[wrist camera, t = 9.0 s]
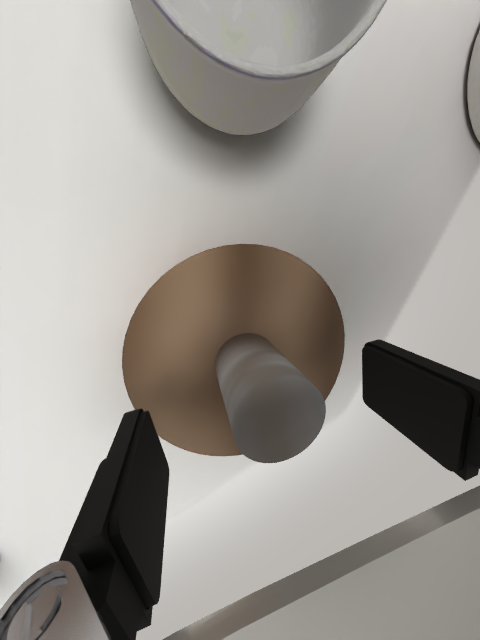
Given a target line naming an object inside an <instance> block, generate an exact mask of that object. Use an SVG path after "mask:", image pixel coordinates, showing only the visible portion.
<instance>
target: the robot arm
mask: <svg viewBox="0 0 480 640" xmlns="http://www.w3.org/2000/svg"><path fill="white" fill-rule="evenodd" d="M467 102H468V111H469V117H470V121H471V125H472V128H473V131H474V133H475V135H476V137H477V139H478V141H479V143H480V30H479V33H478V36H477V38H476V41H475V44H474V48H473V52H472V56H471V60H470V66H469V73H468V81H467ZM362 377H363V400H364V402H365V404H366V405H367V406H368V407H369V408H371V409H372V410H373V411H374V412H376V413H377V414H378V415H379V416H381V417H382V418H383V419H385V420H386V421H387V422H388V423H390V424H391V425H392V426H393V427H394V428H396V429H397V430H398V431H399V432H401V433H402V434H403V435H404V436H406V437H407V438H409V439H410V440H411V441H412V442H413V443H415V444H416V445H417V446H418V447H420V448H421V449H422V450H423V451H425V452H426V453H427V454H429V455H430V456H431V457H432V458H433V459H435V460H436V461H437V462H438V463H440V464H441V465H442V466H443V467H445V468H446V469H448V470H450V471H453V472H455V473H456V474H457V475H458V476H460V477H461V478H462V479H464V480H465V481H466V480H468V479H470V478H472V477H474V476H476V475H478V471H479V469H480V380H479V379H476V378H474V377H471V376H469V375H467V374H464V373H462V372H459V371H457V370H454V369H452V368H449V367H447V366H444V365H442V364H439V363H437V362H434V361H432V360H429V359H427V358H424V357H422V356H419V355H417V354H414V353H412V352H409V351H407V350H405V349H402V348H400V347H397V346H395V345H392V344H390V343H387V342H385V341H382V340H375V341H371V342H368V343H366V344H365V346H364V348H363V349H362ZM168 483H169V467H168V463H167V460H166V457H165V454H164V452H163V449H162V446H161V443H160V440H159V438H158V435H157V432H156V429H155V426H154V424H153V421H152V418H151V415H150V413H149V411H144V410H143V409H142V408H140V409H137V410H134V411H130V412H127V413H125V414H124V416H123V418H122V421H121V423H120V426H119V428H118V431H117V433H116V436H115V438H114V441H113V443H112V446H111V448H110V450H109V453H108V455H107V458H106V459H104V460H103V461H102V462H101V464H100V465H99V467H98V470H97V472H96V475H95V477H94V479H93V482H92V484H91V486H90V489H89V491H88V493H87V496H86V498H85V501H84V503H83V505H82V508H81V510H80V512H79V515H78V517H77V519H76V522H75V524H74V527H73V529H72V531H71V534H70V536H69V538H68V541H67V543H66V546H65V548H64V550H63V553H62V555H61V557H60V560H59V561H58V562H54V563H51V564H49V565H47V566H46V567H44V568H42V569H40V570H39V571H37V572H36V573H35V574H34V575H32V576H31V577H30V578H29V579H27V580H26V581H25V582H24V583H23V584H22V585H21V586H20V587H19V588H18V589H17V590H16V591H15V592H14V593H13V594H12V595H11V597H10V598H9V599H8V600H7V602H6V603H5V604H4V606H3V607H2V608H1V610H0V640H136V632H137V631H139V630H141V629H143V628H145V627H147V626H150V625H151V617H152V606H153V605H155V604H157V603H158V601H159V597H160V587H161V574H162V561H163V547H164V534H165V522H166V509H167V496H168ZM163 640H480V486H478V487H476V488H474V489H471V490H469V491H467V492H465V493H463V494H461V495H458V496H456V497H454V498H452V499H450V500H448V501H445V502H443V503H441V504H439V505H437V506H435V507H433V508H431V509H429V510H426V511H424V512H422V513H420V514H418V515H416V516H414V517H411V518H409V519H407V520H405V521H403V522H401V523H399V524H397V525H394V526H392V527H390V528H388V529H386V530H384V531H382V532H380V533H378V534H375V535H373V536H371V537H369V538H367V539H365V540H363V541H361V542H358V543H356V544H354V545H352V546H350V547H348V548H346V549H344V550H342V551H340V552H337V553H335V554H333V555H331V556H329V557H327V558H325V559H323V560H321V561H319V562H317V563H314V564H313V565H310V566H308V567H306V568H304V569H302V570H300V571H298V572H296V573H294V574H292V575H289V576H287V577H285V578H283V579H281V580H279V581H277V582H275V583H273V584H271V585H269V586H267V587H265V588H262V589H260V590H258V591H256V592H254V593H252V594H250V595H248V596H246V597H244V598H242V599H240V600H238V601H236V602H234V603H232V604H231V605H228V606H226V607H224V608H222V609H220V610H218V611H216V612H214V613H212V614H211V615H209V616H206V617H205V618H202V619H201V620H199V621H197V622H195V623H193V624H191V625H189V626H187V627H185V628H183V629H181V630H179V631H177V632H175V633H173V634H172V635H170V636H168V637H166V638H165V639H163Z"/></svg>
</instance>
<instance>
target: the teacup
mask: <svg viewBox="0 0 480 640" xmlns="http://www.w3.org/2000/svg"><path fill="white" fill-rule="evenodd" d="M130 1H131V5H132V8H133V11H134V14H135V17H136V20H137V23H138V26H139V30H140V33H141V35H142V38H143V40H144V43H145V45H146V48H147V50H148V52H149V55H150V57H151V59H152V61H153V63H154V65H155V67H156V69H157V71H158V72H159V74H160V76H161V78H162V79H163V81H164V83H165V84H166V86H167V87H168V88H169V90H170V91H171V92H172V94H173V95H174V96H175V98H176V99H177V100H178V101H179V102H180V103H181V104H182V106H183V107H184V108H185V109H187V110H188V111H189V112H190V113H191V114H192V115H193V116H194V117H196V118H197V119H199V120H200V121H202V122H203V123H205V124H206V125H208V126H210V127H212V128H214V129H217V130H219V131H222V132H225V133H229V134H235V135H252V134H257V133H261V132H265V131H267V130H270V129H272V128H274V127H276V126H278V125H279V124H281V123H282V122H284V121H285V120H287V119H288V118H289V117H291V116H292V115H293V114H294V113H295V112H296V111H297V110H299V109H300V107H301V106H302V105H303V104H304V103H305V102H306V101H307V100H308V99H309V98H310V96H311V95H312V94H313V93H314V92H315V91H316V90H317V88H318V87H319V86H320V85H321V83H322V82H323V81H324V80H325V79H326V77H327V76H328V75H329V74H330V72H331V71H332V70H333V68H334V67H335V66H336V64H337V63H338V62H339V60H340V59H341V58H342V57H343V56H344V55H345V54H346V53H347V52H348V51H349V50H350V49H351V48H352V47H353V46H354V45H356V44H357V42H358V41H359V40H360V39H361V38H362V37H363V35H364V34H365V33H366V32H367V30H368V29H369V28H370V26H371V25H372V24H373V22H374V21H375V19H376V17H377V16H378V14H379V13H380V11H381V9H382V8H383V6H384V4H385V3H386V1H387V0H130Z"/></svg>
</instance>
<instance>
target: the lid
mask: <svg viewBox="0 0 480 640" xmlns="http://www.w3.org/2000/svg"><path fill="white" fill-rule="evenodd" d="M344 337H345V335H344V325H343V319H342V315H341V311H340V308H339V306H338V303H337V301H336V298H335V296H334V295H333V293H332V291H331V289H330V287H329V286H328V285H327V283H326V282H325V281H324V280H323V278H322V277H321V276H320V275H319V274H318V273H317V272H316V271H315V270H314V269H313V268H312V267H311V266H309V265H308V264H306V263H305V262H304V261H302V260H301V259H299V258H297V257H295V256H293V255H291V254H289V253H287V252H285V251H282V250H279V249H276V248H273V247H268V246H262V245H256V244H236V245H227V246H221V247H217V248H213V249H209V250H206V251H204V252H201V253H199V254H196V255H194V256H191V257H190V258H188V259H186V260H184V261H183V262H181V263H179V264H178V265H176V266H174V267H173V268H172V269H171V270H169V271H168V272H167V273H165V274H164V275H163V276H162V277H161V278H160V279H159V280H158V281H157V282H156V283H155V284H154V285H153V286H152V287H151V288H150V289H149V290H148V292H147V293H146V294H145V296H144V297H143V299H142V300H141V301H140V303H139V304H138V306H137V308H136V310H135V312H134V314H133V316H132V318H131V320H130V323H129V326H128V329H127V332H126V335H125V340H124V346H123V355H122V369H123V376H124V383H125V386H126V389H127V392H128V396H129V398H130V400H131V402H132V404H133V406H134V408H135V410H137V409H140V408H142V409H143V410H144V411H149V413H150V415H151V418H152V421H153V424H154V426H155V429H156V432H157V435H159V436H160V437H161V438H163V439H164V440H166V441H168V442H169V443H171V444H173V445H175V446H177V447H179V448H182V449H184V450H187V451H190V452H194V453H198V454H203V455H210V456H233V455H241V454H244V455H245V456H246V457H248V458H249V459H251V460H254V461H257V462H261V463H276V462H281V461H284V460H287V459H289V458H292V457H294V456H296V455H298V454H299V453H301V452H302V451H303V450H305V449H306V448H307V447H308V446H309V445H310V444H311V443H312V442H313V441H314V439H315V438H316V437H317V435H318V434H319V432H320V430H321V428H322V426H323V423H324V419H325V413H326V410H325V402H324V401H325V400H326V398H327V397H328V395H329V394H330V392H331V390H332V388H333V386H334V384H335V382H336V379H337V376H338V374H339V371H340V367H341V363H342V360H343V353H344Z"/></svg>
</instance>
